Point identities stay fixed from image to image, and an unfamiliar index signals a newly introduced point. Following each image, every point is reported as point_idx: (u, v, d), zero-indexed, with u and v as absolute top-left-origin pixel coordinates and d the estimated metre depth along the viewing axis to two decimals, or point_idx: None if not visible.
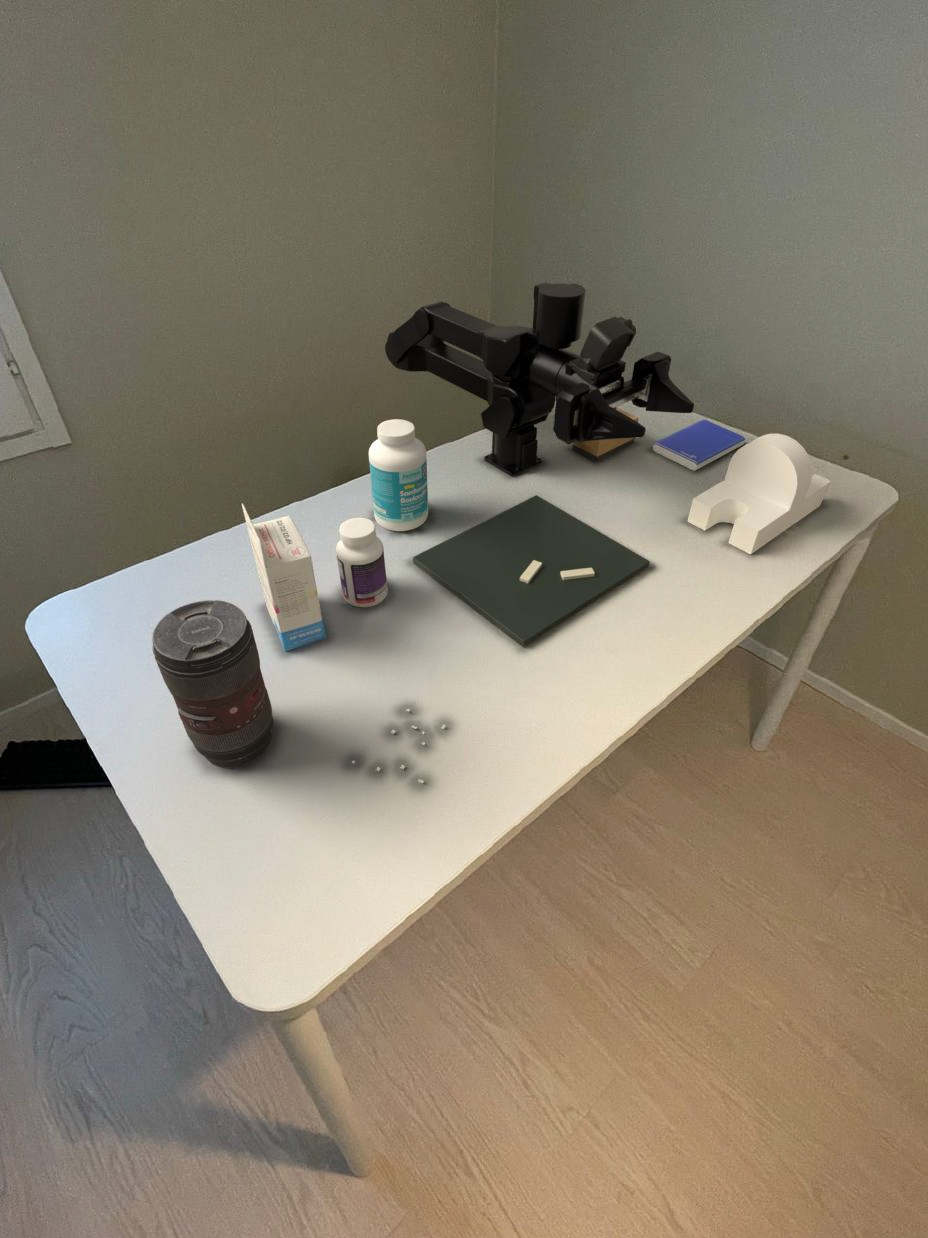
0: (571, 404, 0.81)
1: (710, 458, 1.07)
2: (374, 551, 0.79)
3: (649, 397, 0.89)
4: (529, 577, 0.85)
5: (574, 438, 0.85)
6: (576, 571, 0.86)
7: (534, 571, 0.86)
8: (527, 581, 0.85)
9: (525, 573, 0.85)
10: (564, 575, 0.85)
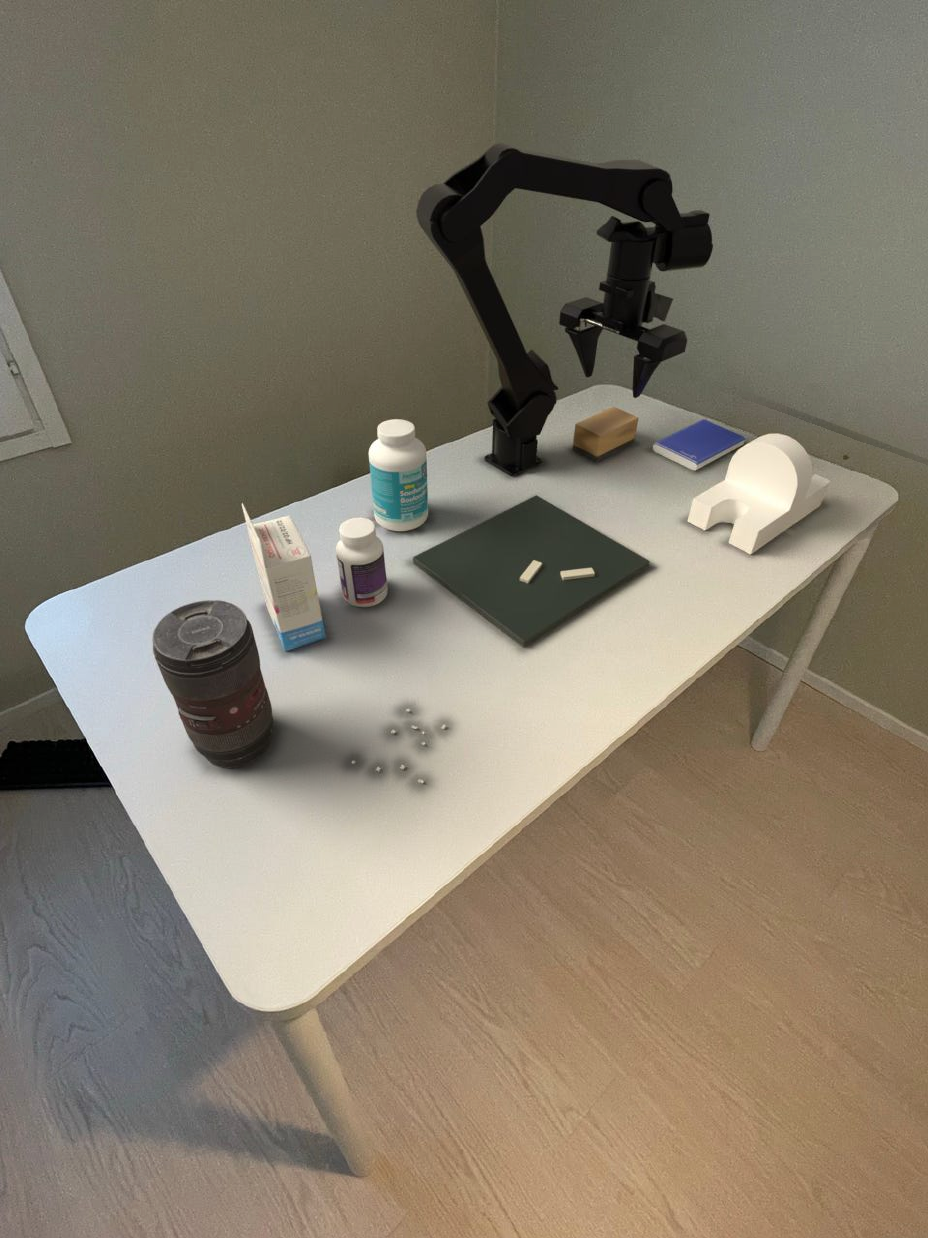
0: None
1: (710, 458, 1.07)
2: (374, 551, 0.79)
3: (586, 332, 1.02)
4: (529, 577, 0.85)
5: None
6: (576, 571, 0.86)
7: (534, 571, 0.86)
8: (527, 581, 0.85)
9: (525, 573, 0.85)
10: (564, 575, 0.85)
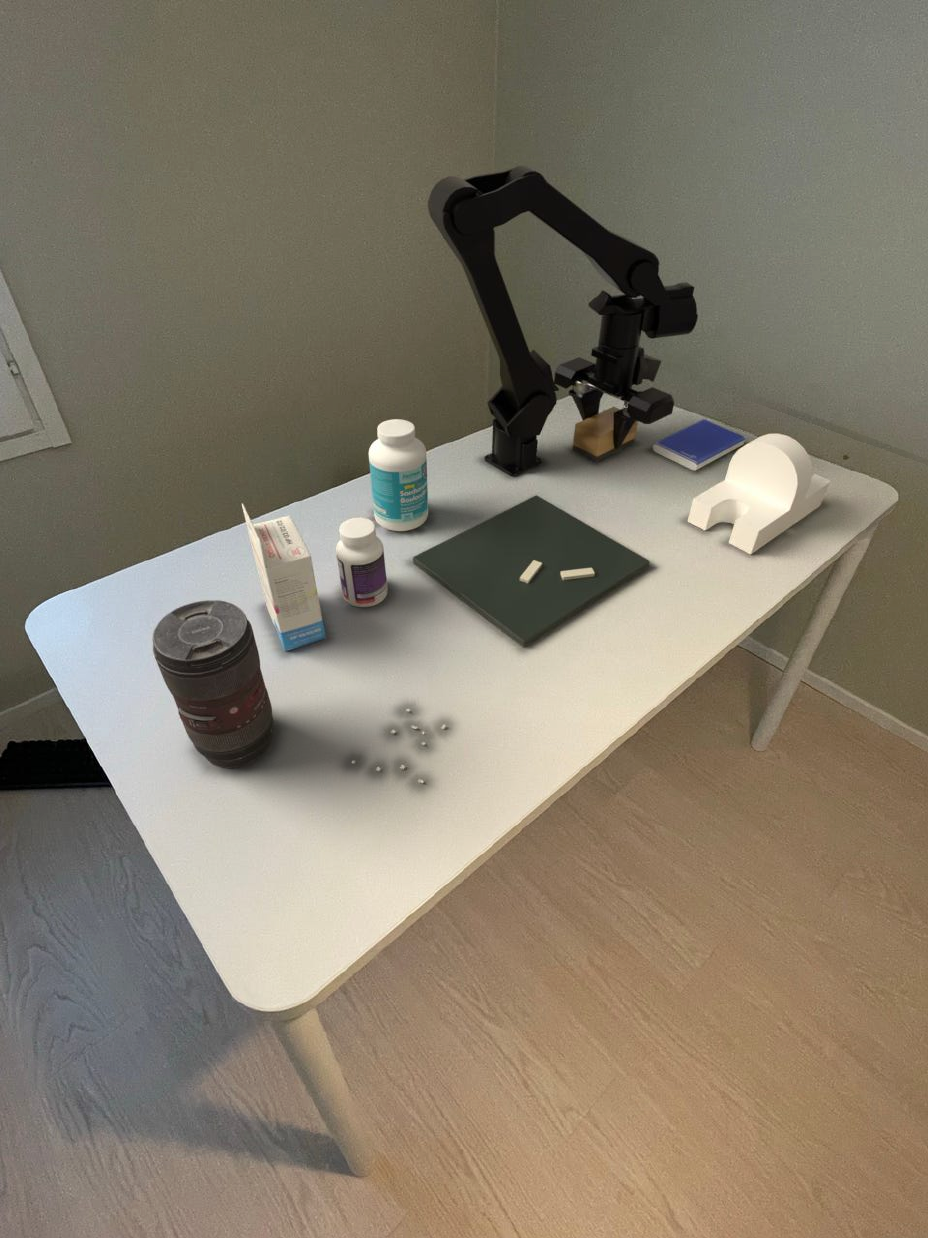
0: None
1: (710, 458, 1.07)
2: (374, 551, 0.79)
3: (589, 395, 1.07)
4: (529, 577, 0.85)
5: None
6: (576, 571, 0.86)
7: (534, 571, 0.86)
8: (527, 581, 0.85)
9: (525, 573, 0.85)
10: (564, 575, 0.85)
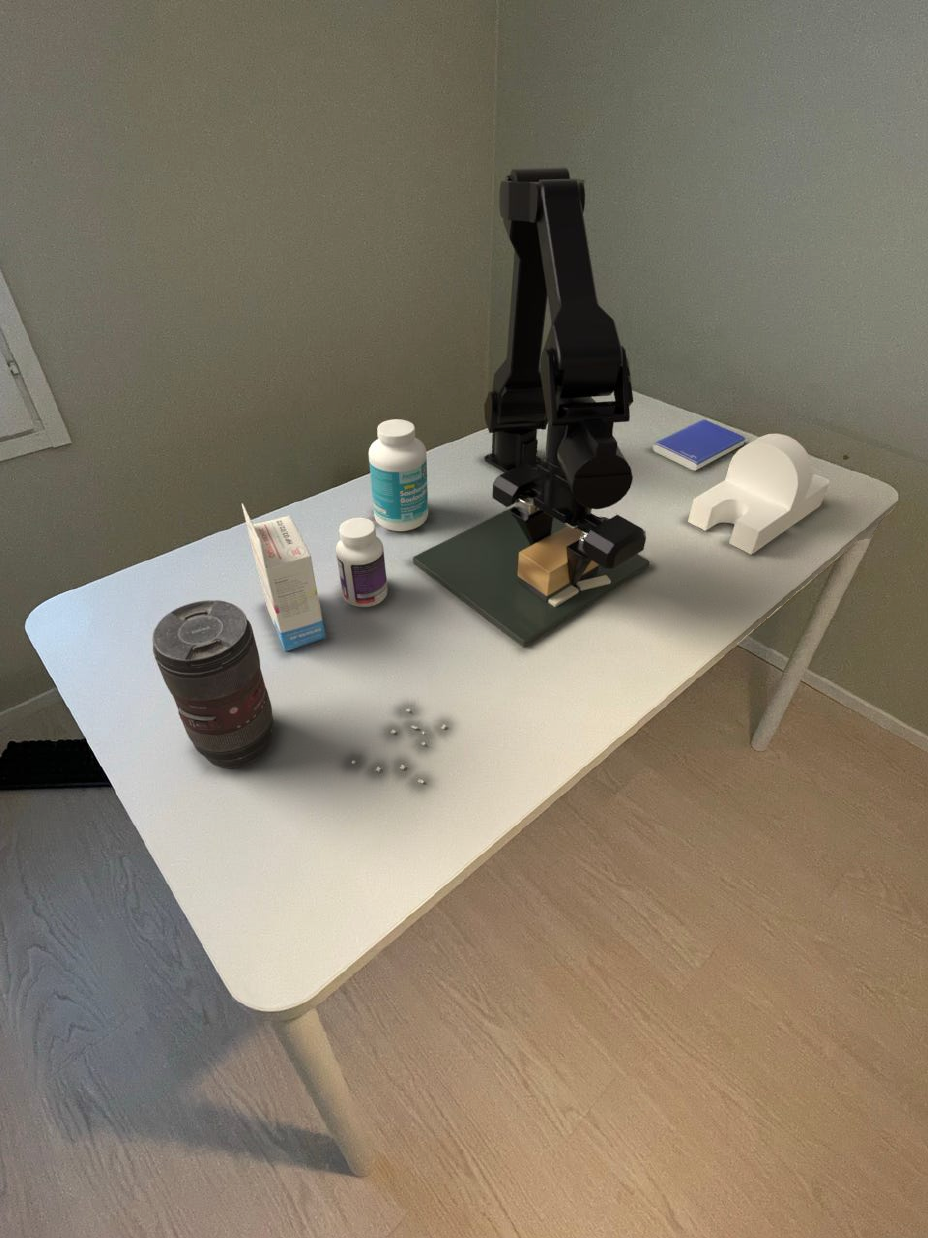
0: None
1: (710, 458, 1.07)
2: (374, 551, 0.79)
3: (537, 517, 0.82)
4: (558, 601, 0.82)
5: None
6: (592, 580, 0.84)
7: (566, 596, 0.82)
8: (554, 604, 0.81)
9: (556, 596, 0.82)
10: (581, 585, 0.84)
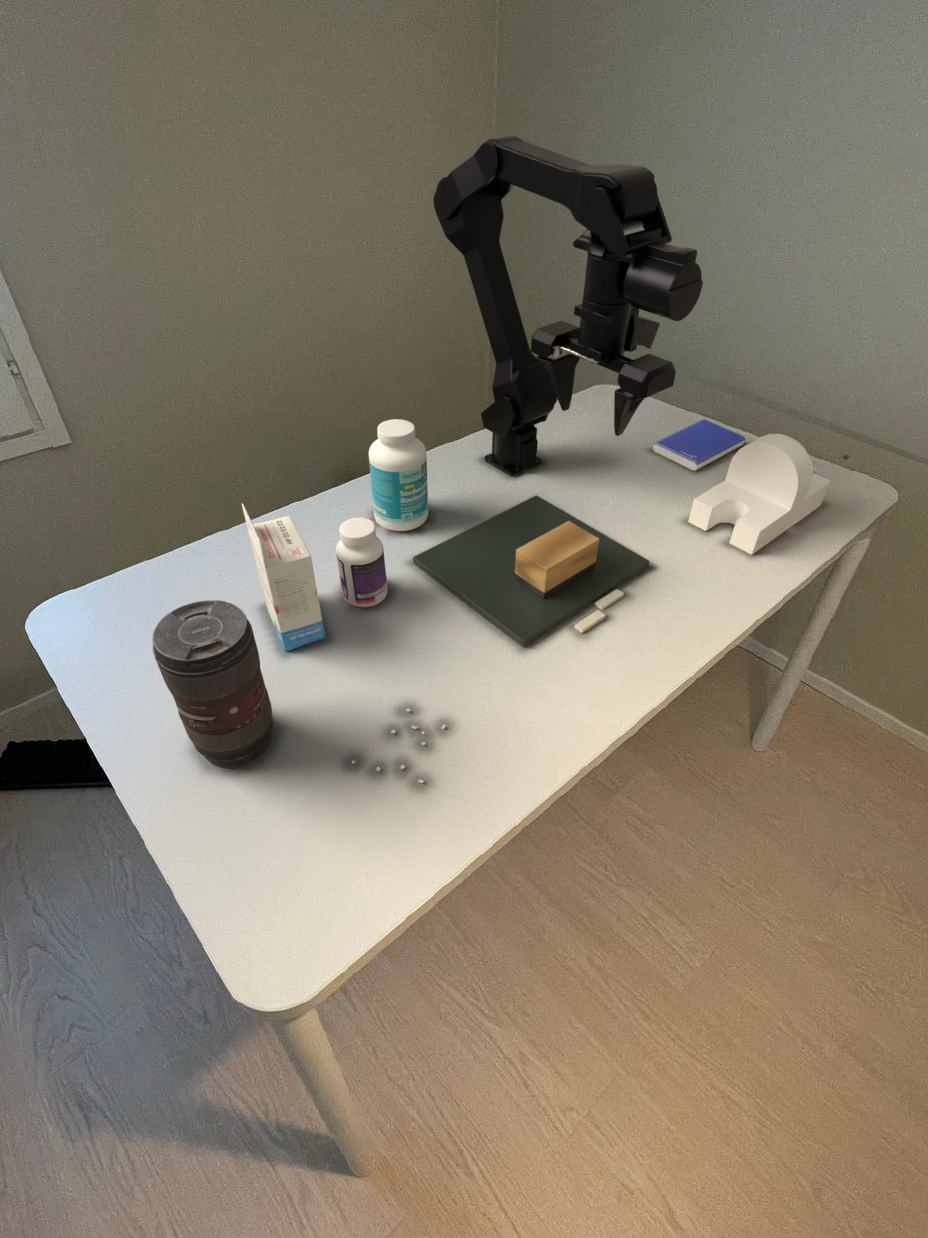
0: None
1: (710, 458, 1.07)
2: (374, 551, 0.79)
3: (561, 361, 0.90)
4: None
5: None
6: (608, 597, 0.84)
7: None
8: (575, 627, 0.80)
9: None
10: (601, 605, 0.83)
